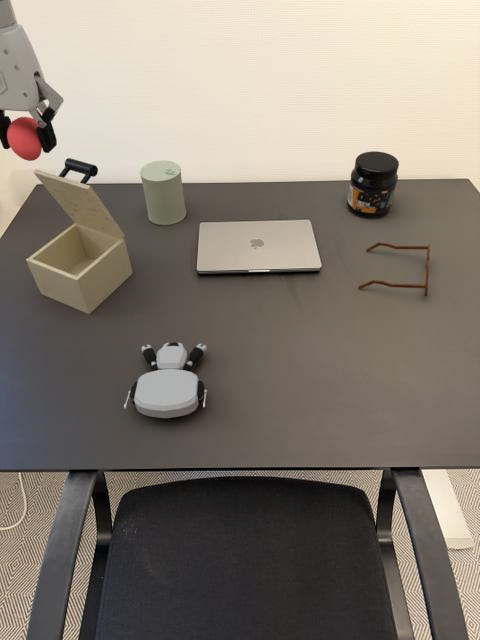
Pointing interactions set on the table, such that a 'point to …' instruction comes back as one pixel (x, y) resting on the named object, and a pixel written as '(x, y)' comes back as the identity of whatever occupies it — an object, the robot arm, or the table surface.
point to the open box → (81, 267)
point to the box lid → (80, 197)
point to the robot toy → (169, 382)
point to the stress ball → (24, 138)
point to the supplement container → (372, 184)
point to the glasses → (401, 284)
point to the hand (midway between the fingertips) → (30, 146)
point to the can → (163, 192)
